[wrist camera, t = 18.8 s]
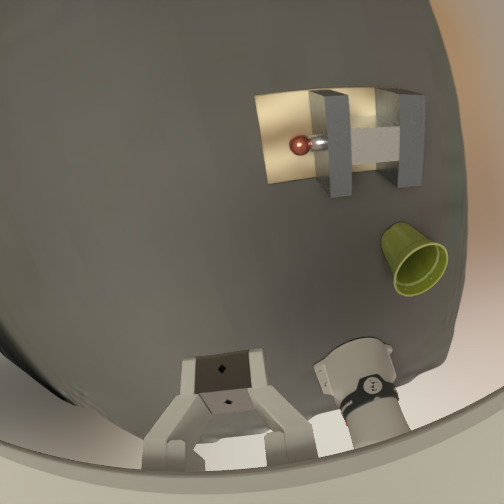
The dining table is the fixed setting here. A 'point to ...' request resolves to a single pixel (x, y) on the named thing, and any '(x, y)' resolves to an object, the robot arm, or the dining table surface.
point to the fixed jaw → (403, 134)
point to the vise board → (300, 129)
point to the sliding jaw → (328, 141)
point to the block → (374, 140)
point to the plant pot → (413, 259)
